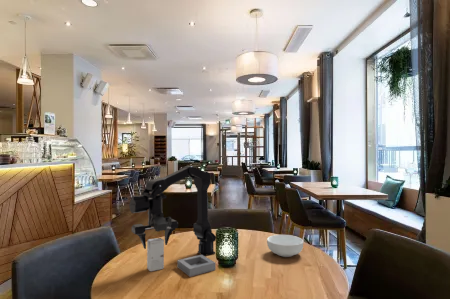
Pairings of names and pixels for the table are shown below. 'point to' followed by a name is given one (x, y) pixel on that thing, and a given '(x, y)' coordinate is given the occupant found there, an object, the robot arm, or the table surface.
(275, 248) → the cereal bowl
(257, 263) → the table surface
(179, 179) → the robot arm
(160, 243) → the skincare box
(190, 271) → the ceramic holder
